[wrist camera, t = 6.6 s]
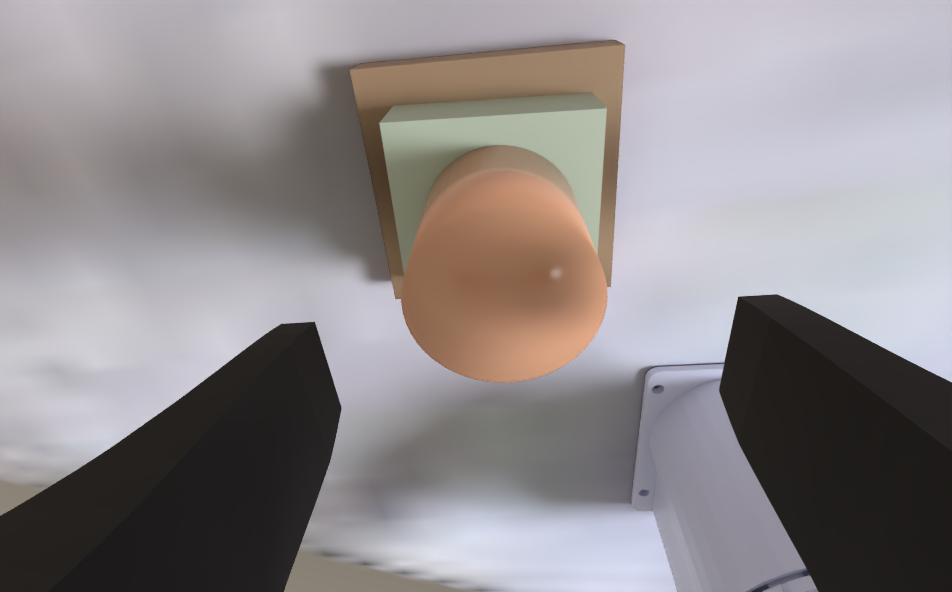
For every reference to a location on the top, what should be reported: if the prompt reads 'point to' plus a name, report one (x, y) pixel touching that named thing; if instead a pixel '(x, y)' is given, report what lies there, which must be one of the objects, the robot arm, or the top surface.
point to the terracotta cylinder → (503, 269)
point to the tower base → (491, 79)
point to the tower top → (486, 124)
